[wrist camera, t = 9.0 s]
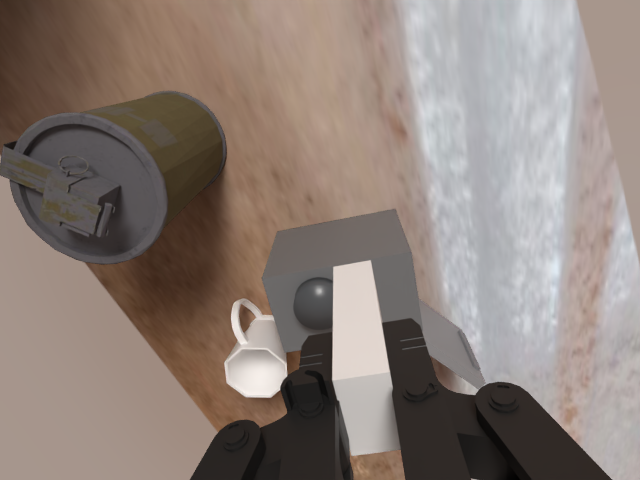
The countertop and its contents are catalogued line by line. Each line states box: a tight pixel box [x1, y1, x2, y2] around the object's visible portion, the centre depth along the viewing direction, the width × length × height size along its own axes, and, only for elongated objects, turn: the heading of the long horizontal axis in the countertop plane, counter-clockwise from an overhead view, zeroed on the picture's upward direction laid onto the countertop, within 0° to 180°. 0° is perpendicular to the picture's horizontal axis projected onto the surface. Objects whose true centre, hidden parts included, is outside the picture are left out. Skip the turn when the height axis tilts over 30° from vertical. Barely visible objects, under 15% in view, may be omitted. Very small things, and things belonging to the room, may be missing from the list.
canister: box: [0, 91, 226, 264], centre depth 36 cm, size 11×10×20 cm
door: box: [418, 298, 486, 389], centre depth 46 cm, size 2×10×9 cm, turn 53°
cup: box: [224, 298, 287, 398], centre depth 49 cm, size 7×10×8 cm
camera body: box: [262, 209, 423, 353], centre depth 43 cm, size 8×13×12 cm, turn 102°
